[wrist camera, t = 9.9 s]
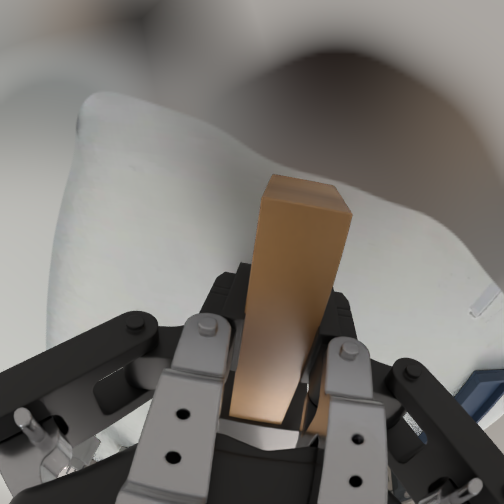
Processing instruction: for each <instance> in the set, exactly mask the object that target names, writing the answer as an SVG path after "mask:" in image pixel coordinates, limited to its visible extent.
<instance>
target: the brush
mask: <svg viewBox="0 0 504 504" xmlns="http://www.w3.org/2000/svg"><path fill="white" fill-rule="evenodd" d="M352 216H353V215H352V213H351V211H350V209H349V208H348V206H347V205H346V203H345V202H344V200H343V198H342V197H341V195H340V194H339V192H338V191H337V189H336V188H335V186H333V185H328V184H323V183H319V182H313V181H308V180H303V179H298V178H292V177H287V176H281V175H275V174H272V176H271V178H270V181H269V183H268V185H267V187H266V189H265V191H264V194H263V196H262V198H261V204H260V211H259V218H258V224H257V231H256V238H255V245H254V251H253V258H252V265H251V271H250V278H249V285H248V292H247V298H246V305H245V312H244V313H245V314H246V316H245V323H244V329H243V335H242V342H241V348H240V354H239V361H238V366H237V370H236V371H231V370H230V371H229V374H228V378H227V381H226V382H225V386H224V394H223V401H222V408H221V416H220V423H219V431H218V433H220V434H225V435H228V436H230V437H232V438H235V439H237V440H239V441H242V442H244V443H247V444H249V445H252V446H254V447H257V448H259V449H262V450H267V451H271V450H282V449H291V448H295V447H296V444H297V440H298V435H299V430H300V424H301V418H302V412H303V406H304V400H305V397H306V395H307V383H301V382H300V375H301V373H302V370H303V367H304V365H305V362H306V360H307V357H308V354H309V351H310V349H311V346H312V343H313V340H314V338H315V335H316V332H317V329H318V326H320V324H321V321H322V318H323V315H324V312H325V309H326V306H327V303H328V300H329V297H330V293H331V290H332V287H333V284H334V281H335V277H336V274H337V271H338V267H339V264H340V260H341V257H342V253H343V250H344V246H345V242H346V239H347V235H348V231H349V227H350V223H351V220H352Z"/></svg>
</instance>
